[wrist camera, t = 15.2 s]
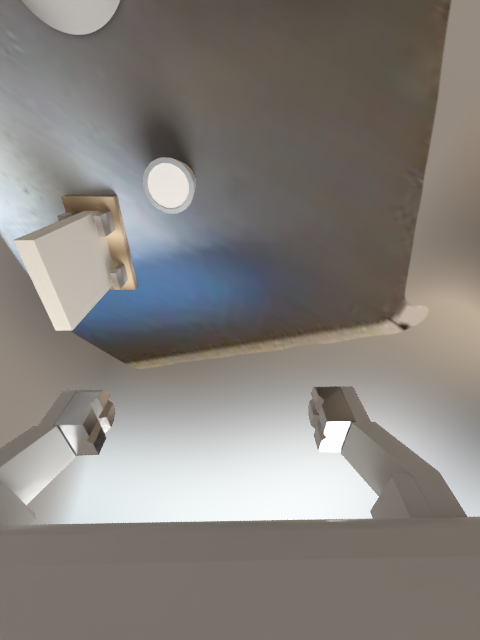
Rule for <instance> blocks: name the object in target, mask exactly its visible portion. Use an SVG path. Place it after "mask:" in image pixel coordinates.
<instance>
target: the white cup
mask: <svg viewBox="0 0 480 640" xmlns="http://www.w3.org/2000/svg"><path fill="white" fill-rule="evenodd" d="M143 187H144V192H145V194H146V196H147V198H148V200H149V202H150V203H151V204H153V205H154V206H155V207H156V208H157V209H158V210H160V211H163V212H165V213H173V214H176V213H179V212H181V211H184V210H185V209H186V208H187V207H188V206H189V205H190V204H191V201H192V198H193V195H194V192H195V188H196V178H195V176H194V173H193V171H192V170H191V169H190V167H189V166H188V165H187V164H185V163H183V162H181V161H178V160H176V159H173V158H164V157H160V158H158V159H156V160H154V161H151V163H150V164H149V165H148V166H147V168H146V169H145V172H144V176H143Z"/></svg>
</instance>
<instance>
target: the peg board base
mask: <svg viewBox="0 0 480 640" xmlns="http://www.w3.org/2000/svg"><path fill="white" fill-rule="evenodd" d="M61 198H62V200H63V203H64V206H65V209H66V212H67V213H64V214H61V215H59V216H58V219H59V221H61V220H63V219H66V218H68V217H71V216H73V215H75V214H78V213H80V212H83V211H99V214H96V215H94V216H93V217H94V221H95V224H96V228H97V231H98V234H99V237H106V240H107V244H108V247H109V251H110V255H111V258H112V262H113V265H114V270H113V271H112V272H111V273H110V276H111V279H112V283H113V286H112V287H111V288H110V289H109V290H136V288H137V287H138V284H137V280H136V275H135V271H134V267H133V262H132V258H131V254H130V249H129V245H128V241H127V237H126V232H125V228H124V224H123V219H122V215H121V211H120V207H119V202H118V198H117V195H66V196H63V197H61Z"/></svg>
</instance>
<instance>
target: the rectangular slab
mask: <svg viewBox="0 0 480 640" xmlns="http://www.w3.org/2000/svg"><path fill="white" fill-rule="evenodd" d="M96 214H99V211H83V212H80V213H78V214H75V215H73V216H71V217H68V218H66V219H63V220H61V221H58V222H56V223H54V224H51V225H49V226H46V227H44V228H42V229H39V230H37V231H34V232H32V233H30V234H27V235H25V236H22V237H20V238H17V239H15V240H13V241H14V243H15V245H16V247H17V250H18V252H19V254H20V256H21V258H22V260H23V262H24V264H25V267H26V269H27V271H28V273H29V275H30V277H31V279H32V281H33V283H34V286H35V288H36V290H37V292H38V294H39V296H40V298H41V300H42V302H43V305H44V307H45V309H46V311H47V313H48V315H49V317H50V319H51V321H52V324H53V326H54V328H55V330H73V329H74V328H75V327H76V326H77V325H78V324H79V322H80V321H81V320H82V319H83V318H84V317H85V316H86V315H87V314H88V312H89V311H90V310H91V309H92V308H93V307H94V306H95V305H96V303H97V302H98V301H99V300H100V299H101V298H102V297H103V296H104V294H105V293H106V292H107V291H108V290H109V289H110V288H111V287H112V286H113V283H112V279H111V276H110V273H111V272H112V271H113V270H114V265H113V262H112V258H111V255H110V251H109V247H108V244H107V240H106V237H99V234H98V231H97V228H96V224H95V221H94V217H93V216H94V215H96Z"/></svg>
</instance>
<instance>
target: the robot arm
mask: <svg viewBox="0 0 480 640" xmlns="http://www.w3.org/2000/svg"><path fill="white" fill-rule="evenodd" d="M21 1H22V2H23V3H24V4H25V5H26V6H27V7H28V8H29V9H30V11H32V12H33V13H34V14H35V15H36V16H37V17H38V18H39V19H41V20H42V21H43V22H45V23H46V24H48V25H49V26H51V27H53V28H55V29H57V30H59V31H62V32H65V33H68V34H74V35H83V34H89V33H92V32H94V31H96V30H98V29H100V28H101V27H103V26H104V25H105V24H106V23H107V22H108V21H109V20H110V18H111V17H112V16H113V14H114V13H115V11H116V9H117V7H118V5H119V2H120V0H21ZM311 394H312V398H313V399H312V400H310V402H309V419H310V423H311V425H312V426H313V427H314V428H315V433H314V437H315V441H316V444H317V448H318V451H321V452H322V451H323V452H325V451H326V452H341V454H342V455H343V456H344V457H345V459H347V461H348V462H349V463H350V464H351V465H352V466H353V468H354V469H355V470H356V471H357V472H358V473H359V474H360V475H361V477H362V478H363V479H364V480H365V481H366V482H367V483H368V485H369V486H370V487H371V488H372V489H373V490H374V491H375V493H376V494H377V495H378V496H379V498H378V500H377V501H376V503H375V504H374V506H373V508H372V510H371V514H372V517H373V519H331V520H330V519H328V520H276V521H275V520H272V521H220V522H219V521H217V522H160V523H107V524H56V525H55V524H54V525H53V524H52V525H51V524H50V525H32V523H33V521H34V520H35V514H34V513H33V512H32V511H31V510H30V509H29V508H28V507H27V506H26V505H27V504H28V503H29V502H30V501H31V500H32V499H33V498H34V497H35V496H36V495H37V494H38V493H39V492H40V491H41V490H42V489H43V488H44V487H45V486H46V485H47V484H48V483H49V482H50V481H52V480H53V479H54V478H55V477H56V476H57V475H58V474H59V473H60V472H61V471H62V470H63V469H64V468H65V467H66V466H67V465H68V464H69V463H70V462H71V461H72V460H73V459H74V458H75V457H76V455H99V453H100V450H101V448H102V446H103V444H104V442H105V440H106V436H105V432H106V431H107V430H108V429H110V428H111V426H112V424H113V421H114V415H115V408H114V405H113V403H112V402H110V401H109V400H108V399H109V397H110V395H109V393H108V391H107V390H87V389H79V390H78V389H76V390H75V389H66V390H65V391H63V392H62V393H61V394H60V396H59V397H58V398H57V400H56V401H55V403H54V404H53V406H52V407H51V408H50V410H49V411H48V412H47V414H46V415H45V417H44V418H43V419H42V421H41V422H40V424H39V425H38V426H33V427H32V428H30V429H29V430H27V431H26V432H24V433H23V434H21V435H20V436H18V437H17V438H15V439H14V440H12V441H11V442H9V443H8V444H6V445H5V446H3V447H2V448H0V640H480V517H467V515H466V514H465V512H464V511H463V509H462V507H461V506H460V504H459V503H458V501H457V499H456V498H455V496H454V495H453V493H452V492H451V490H450V488H449V487H448V485H447V484H446V482H445V480H444V479H443V477H442V476H441V474H440V473H439V472H438V471H437V470H436V469H435V468H433V467H432V466H431V465H429V464H428V463H427V462H426V461H424V460H423V459H422V458H420V457H419V456H418V455H417V454H415V453H414V452H413V451H411V450H410V449H409V448H408V447H406V446H405V445H404V444H402V443H401V442H400V441H398V440H397V439H396V438H395V437H394V436H392V435H391V434H389V433H388V432H387V431H386V430H385V429H383V428H382V427H381V426H379V425H378V424H377V423H375V422H371V421H370V419H369V417H368V415H367V413H366V411H365V409H364V407H363V405H362V403H361V401H360V399H359V397H358V396H357V393H356V391H355V389H354V388H353V387H314V388H313V389H312V393H311Z"/></svg>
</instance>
